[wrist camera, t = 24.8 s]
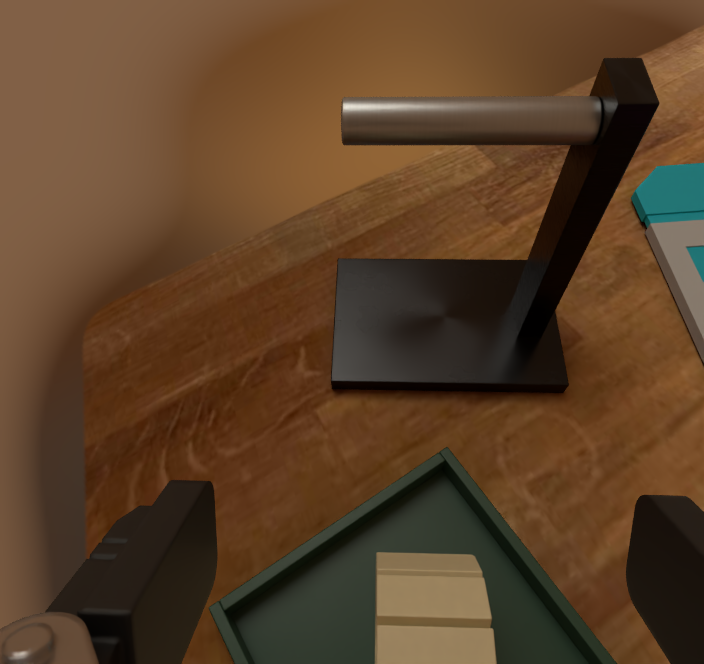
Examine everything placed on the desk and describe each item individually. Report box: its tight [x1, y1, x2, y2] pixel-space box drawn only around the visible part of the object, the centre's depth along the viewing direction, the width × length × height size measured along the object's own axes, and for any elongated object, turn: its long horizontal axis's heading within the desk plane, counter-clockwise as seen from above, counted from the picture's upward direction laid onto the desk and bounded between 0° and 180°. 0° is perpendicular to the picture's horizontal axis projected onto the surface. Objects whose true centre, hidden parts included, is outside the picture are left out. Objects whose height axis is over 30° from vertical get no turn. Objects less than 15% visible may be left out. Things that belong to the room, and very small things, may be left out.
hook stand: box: [331, 58, 659, 393], centre depth 31 cm, size 15×10×19 cm, turn 88°
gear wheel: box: [375, 552, 497, 664], centre depth 25 cm, size 4×8×8 cm, turn 178°
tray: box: [209, 447, 617, 664], centre depth 28 cm, size 15×15×2 cm
